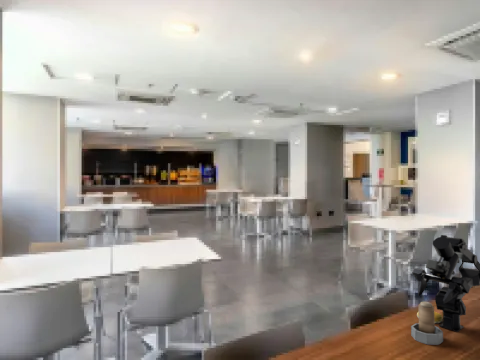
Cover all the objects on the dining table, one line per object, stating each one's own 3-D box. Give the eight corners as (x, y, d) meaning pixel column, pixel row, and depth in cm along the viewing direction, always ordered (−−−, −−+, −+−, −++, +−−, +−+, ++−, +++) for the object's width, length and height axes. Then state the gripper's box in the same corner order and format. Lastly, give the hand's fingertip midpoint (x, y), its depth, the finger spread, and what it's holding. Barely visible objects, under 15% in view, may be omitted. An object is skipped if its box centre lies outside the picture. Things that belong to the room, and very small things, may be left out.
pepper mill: (424, 332, 123) (423, 300, 123) (437, 337, 118) (436, 304, 118) (416, 335, 120) (415, 302, 120) (430, 341, 116) (429, 306, 116)
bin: (419, 330, 126) (419, 321, 126) (446, 339, 118) (446, 329, 118) (407, 337, 120) (407, 328, 120) (435, 347, 112) (435, 337, 113)
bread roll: (438, 326, 130) (438, 316, 130) (414, 319, 136) (414, 309, 136) (446, 320, 135) (445, 310, 135) (422, 314, 142) (422, 304, 142)
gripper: (414, 247, 132) (397, 279, 126) (464, 256, 116) (448, 293, 110) (425, 264, 136) (410, 296, 130) (476, 275, 120) (461, 311, 114)
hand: (430, 298), depth 121 cm, fingers open, 9 cm apart
